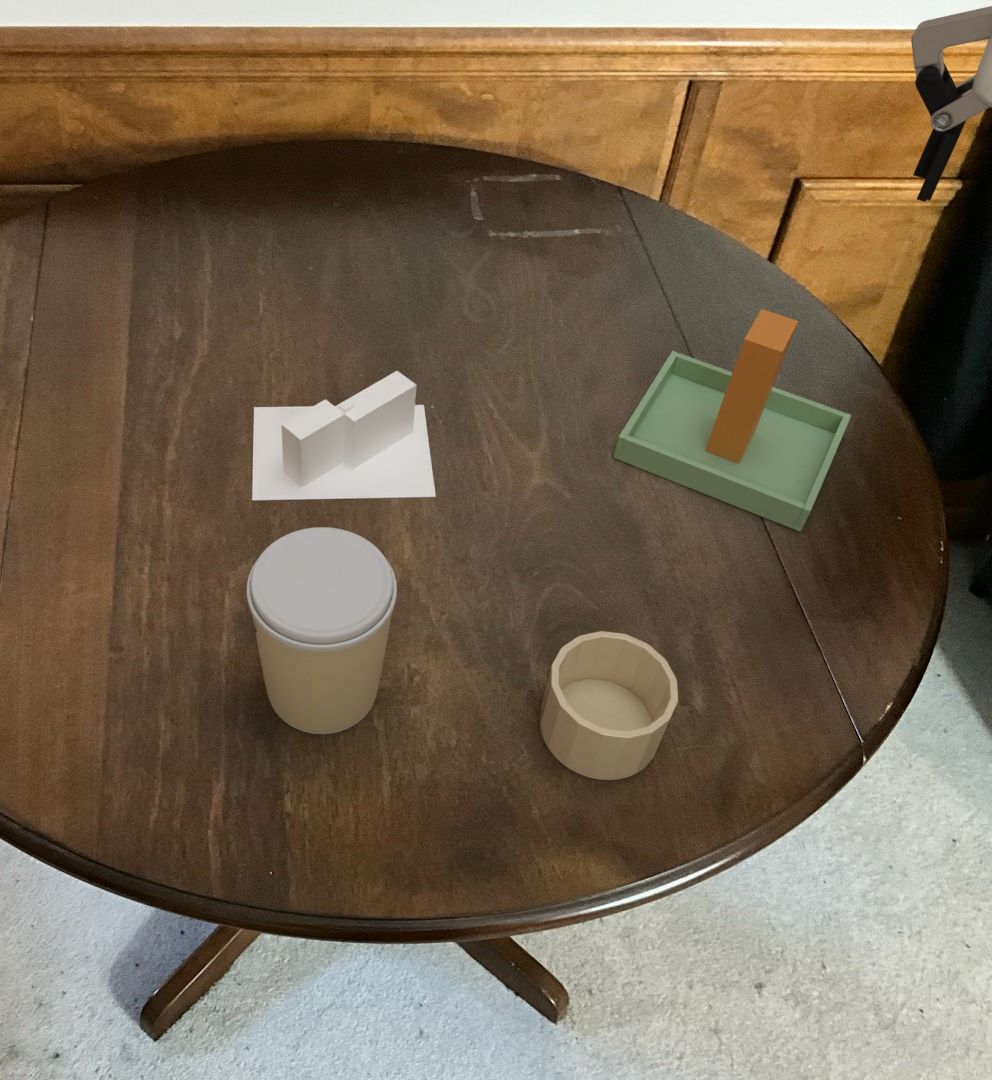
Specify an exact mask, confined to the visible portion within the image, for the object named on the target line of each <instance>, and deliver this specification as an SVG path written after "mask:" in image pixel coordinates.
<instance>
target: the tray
mask: <svg viewBox="0 0 992 1080" xmlns="http://www.w3.org/2000/svg"><path fill="white" fill-rule="evenodd" d="M732 373H733V371H730V370H727V369H725V368H722V367H719V366H716V365H713V364H711V363H708V362H705V361H702V360H699V359H697V358H694V357H692V356H689V355H685V354H683V353H680V352H677V351H675V350H671V352H670V354H669V355H668V357H667V359H666V361H665V362H664V364H663V365H662V367H661V368H660V370H659V372H658V373H657V375H656V376H655V378H654V379H653V381H652V383H651V384H650V386H649V387H648V389H647V391H646V392H645V394H644V395H643V397H642V398H641V400H640V402H639V404H638V405H637V406H636V408H635V409H634V411H633V413H632V414H631V416H630V418H629V420H627V423H626V424H625V426H624V427H623V429H622V430H621V432H620V433H619V435H618V438H617V441H616V445H615V448H614V453H613V457H612V458H613V459H615V460H618V461H621V462H623V463H625V464H628V465H631V466H633V467H636V468H637V469H640V470H643V471H646V472H648V473H650V474H652V475H653V474H654V475H656V476H658V477H661V478H663V479H666V480H669V481H671V482H673V483H676V484H679V485H681V486H684V487H686V488H689V489H691V490H693V491H695V492H699V493H701V494H704V495H706V496H708V497H711V498H713V499H716V500H718V501H721V502H724V503H726V504H729V505H732V506H734V507H736V508H738V509H741V510H744V511H746V512H748V513H752V514H754V515H756V516H759V517H762V518H764V519H767V520H769V521H772V522H774V523H777V524H779V525H782V526H785V527H787V528H790V529H792V530H794V531H797V532H799V533H801V532H802V531H803V528H804V526H805V524H806V522H807V521H808V517H809V516H810V514H811V511H812V510H813V507H814V505H815V502H816V500H817V497H818V495H819V493H820V490H821V489H822V486H823V483H824V481H825V479H826V477H827V475H828V472H829V469H830V467H831V465H832V462H833V460H834V459H835V458H834V457H835V456H836V453H837V450H838V448H839V446H840V443H841V441H842V438H843V436H844V434H845V432H846V429H847V427H848V425H849V422H850V420H851V417H852V414H850V413H847V412H844V411H842V410H839V409H836V408H833V407H831V406H828V405H825V404H822V403H819V402H818V401H817V402H816V401H814V400H811V399H808V398H805V397H803V396H800V395H797V394H794V393H792V392H788V391H786V390H784V389H780V388H778V387H775V386H773V387H772V390H771V392H770V395H769V398H768V400H767V403H766V405H765V408H764V410H763V413H762V415H761V418H760V420H759V423H758V426H757V428H756V431H755V433H754V435H753V437H752V439H751V441H750V443H749V445H748V447H747V449H746V451H745V453H744V455H743V457H742V459H741V461H740V463H739V464H738V463H735V462H732V461H730V460H727V459H725V458H722V457H719V456H717V455H714V454H712V453H709V452H706V451H705V449H706V446H707V443H708V441H709V438H710V435H711V432H712V429H713V426H714V424H715V421H716V418H717V415H718V412H719V409H720V407H721V404H722V401H723V398H724V395H725V392H726V390H727V387H728V384H729V381H730V378H731V376H732Z"/></svg>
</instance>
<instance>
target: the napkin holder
mask: <svg viewBox="0 0 992 1080" xmlns="http://www.w3.org/2000/svg"><path fill="white" fill-rule="evenodd" d="M417 385H418V384H417V383H415V382H413V381H412V380H411V379H410V378H408V377H406V376H405V375H404V374H402V373H401V372H400V371H398V370H396V371H394V372H392V373H390V374H389V375H387V376H386V377H383V378H382V379H380V380H378V381H376V382H374V383H373V384H371V385H369V386H368V387H366V388H365V389H363V390H361V391H359V392H357V393H355V394H354V395H352V396H351V397H348V398H347V399H345V400H343V401H342V402H340V403H338V404H337V405H334V404H332V403H331V402H330V401H329V400H328V399H326V398H325V399H324V400H321V401H320V402H317V403H316V404H315V405H313V406H312V405H308V406H254V407H253V437H252V439H253V440H252V443H253V444H252V483H251V484H252V489H251V493H252V494H251V500H252V501H289V500H291V501H295V500H344V499H385V498H386V499H394V498H396V499H397V498H398V499H399V498H401V499H402V498H437V495H436V487H435V479H434V473H433V465H432V456H431V449H430V441H429V434H428V426H427V418H426V411H425V405H424V404H416V399H417V397H416V396H417Z"/></svg>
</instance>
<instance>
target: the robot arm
mask: <svg viewBox="0 0 992 1080" xmlns="http://www.w3.org/2000/svg"><path fill="white" fill-rule="evenodd" d="M986 40H987V42H986V45H985V47H984V50H983V54H982V56H981V58H980V61H979V63H978V67H977V70H976V73H975V74H973V75H972V76H970V77H968V78H966V79H965V80H963V81H962V82H959V83H958V84H956V83H955V82H954V80H953V77H952V76H951V74H950V72H949V69H948V67H947V65H946V63H945V59H944V56H945V55H944V50H945V49H947V48H951V47H955V46H960V45H965V44H970V43H974V42H980V41H986ZM910 42H911V51H912V58H913V60H912V61H913V67H914V70H915V83H914V85H915V88H916V90H917V92H918V94H919V96H920V97H921V100H922V102H923V104H924V106H925V108H926V109H927V112H928V114H929V116H930V126H931V128H932V130H931V132H930V135H929V137H928V139H927V141H926V143H925V146H924V148H923V151H922V153H921V155H920V157H919V160H918V162H917V164H916V167H915V169H914V172H913V174H912V175H913V176H914V177H918V178H920V179H924V181H923V184H922V186H921V188H920V190H919V193H918V195H917V197H916V201H920V202H924V203H926V202H927V201H928V202H929V201H931V200H932V198H933V196H934V193H935V191H936V189H937V187H938V184H939V183H940V180H941V178H942V175H943V174H944V172H945V169H946V167H947V165H948V162H949V160H950V158H951V156H952V155H953V151H954V150H955V147H956V145H957V143H958V140H959V139H960V137H961V134H962V132H963V129H964V127H965V124H967V123H966V122H967V120H970V119H971V118H973V117H975V116H977V115H978V114H981V113H982V112H984V111H986V110H989V108H992V5H990V6H989V5H988V6H986V7H980V8H976V9H971V10H967V11H961V12H959V13H954V14H950V15H944V16H941V17H936V18H932V19H926V20H924V21H921V22H920V23H919V24H918V25H917V27H916V29H915V30H914V31H913V33H912V35H911V39H910Z"/></svg>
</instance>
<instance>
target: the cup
mask: <svg viewBox="0 0 992 1080" xmlns="http://www.w3.org/2000/svg"><path fill="white" fill-rule="evenodd" d="M549 670H550V671H549V675H548V678H547V682H546V686H545V689H544V694H543V697H542V701H541V704H540V714H539V728H540V734H541V736H542V739H543V742H544V743H545V745H546V747H547V749H548V750H549V752H550V753H551V754H552V755H553V756H554V758H555V759H556V760H557V761H559V763H561V764H562V765H563V766H565V767H566V768H567V769H569V770H571V771H572V772H574V773H575V774H577V775H578V774H579V775H581V776H583V777H585V778H590V779H594V780H600V781H616V780H623V779H626V778H630V777H632V776H635V775H636V774H638V773H639V772H642V770H644V769H645V768H646V767H647V766H648V765H650V763H651V761H653V759H654V758H655V756H656V753H657V751H658V749H659V747H660V745H661V743H662V740H663V738H664V735H665V733H666V731H667V728H668V726H669V724H670V722H671V719H672V717H673V715H674V712H675V710H676V708H677V705H678V703H679V691H678V690H679V689H678V680H677V677H676V675H675V674H674V671H673V670H672V668H671V666H670V664H669V662H668V661H667V659H666V658H664V657H663V656H662V654H660V653H659V652H658V651H657V650H656V649H655V648H654V647H652V646H651V645H650V644H648V643H647V642H645V641H643V640H640V639H638V638H636V637H634V636H632V635H629V634H627V633H620V632H612V631H604V630H599V631H594V632H591V633H586V634H581V635H578V636H577V637H575V638H573V639H572V640H571V641H569V642H568V643H566V644H564V645H563V646H562V647H561V648H560V649H559V651H558V653H557V655H556V657H555V658H554V660H553V662H552V664H551V667H550V669H549Z"/></svg>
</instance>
